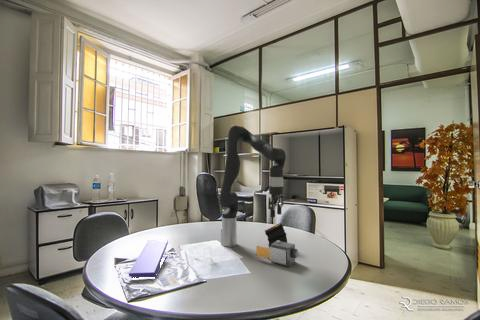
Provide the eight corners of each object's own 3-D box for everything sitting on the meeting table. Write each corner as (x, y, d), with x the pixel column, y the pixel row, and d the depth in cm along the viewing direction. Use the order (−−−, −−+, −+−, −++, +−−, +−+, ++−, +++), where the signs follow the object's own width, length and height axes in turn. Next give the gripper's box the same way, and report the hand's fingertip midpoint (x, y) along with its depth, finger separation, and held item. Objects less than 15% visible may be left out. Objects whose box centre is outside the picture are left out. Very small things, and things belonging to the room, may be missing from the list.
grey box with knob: (271, 261, 120) (270, 242, 120) (277, 257, 125) (277, 239, 126) (293, 267, 112) (293, 247, 113) (299, 263, 118) (299, 243, 118)
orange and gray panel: (290, 266, 113) (289, 249, 113) (289, 267, 112) (288, 250, 112) (257, 257, 124) (257, 242, 124) (256, 258, 123) (256, 243, 123)
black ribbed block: (293, 246, 137) (282, 223, 138) (273, 256, 137) (262, 233, 137) (291, 244, 141) (280, 222, 142) (272, 254, 141) (261, 232, 141)
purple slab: (168, 256, 129) (168, 238, 129) (156, 280, 101) (156, 257, 102) (147, 257, 128) (147, 239, 128) (128, 282, 100) (128, 259, 100)
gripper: (275, 184, 133) (275, 212, 132) (264, 185, 121) (263, 217, 120) (287, 184, 129) (287, 214, 128) (277, 186, 117) (277, 219, 116)
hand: (276, 215), depth 124 cm, fingers open, 8 cm apart
